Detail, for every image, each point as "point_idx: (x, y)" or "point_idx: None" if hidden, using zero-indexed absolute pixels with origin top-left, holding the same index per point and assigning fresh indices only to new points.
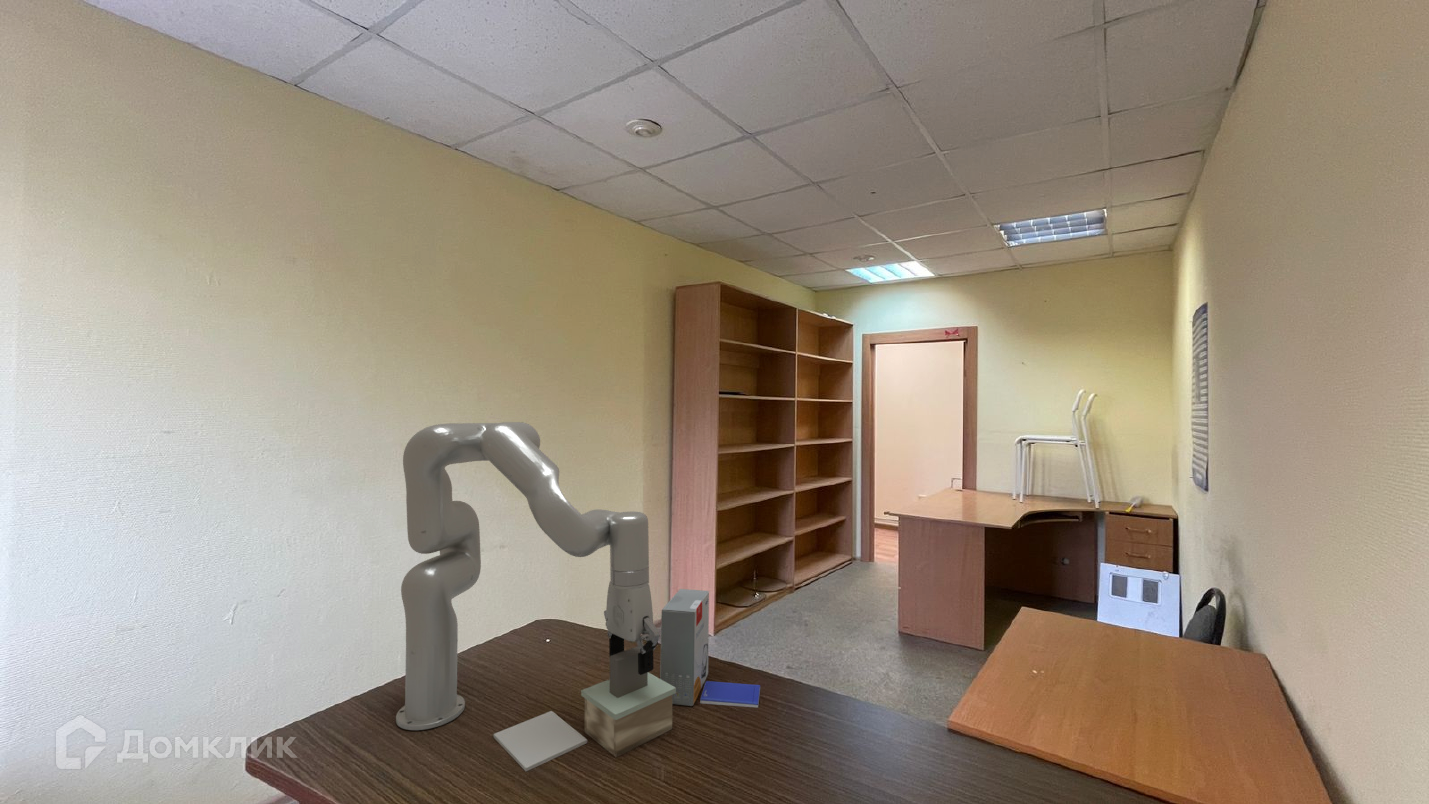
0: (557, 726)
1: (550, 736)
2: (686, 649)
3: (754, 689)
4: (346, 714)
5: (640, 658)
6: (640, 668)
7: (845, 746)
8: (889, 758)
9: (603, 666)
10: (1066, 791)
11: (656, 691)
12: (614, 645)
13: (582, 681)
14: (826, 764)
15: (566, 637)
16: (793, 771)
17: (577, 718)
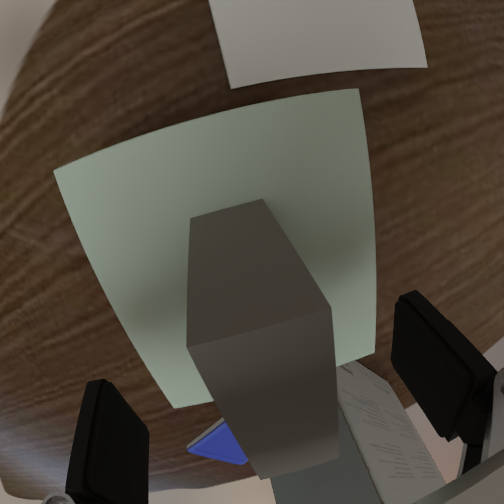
0: (349, 42)
1: (308, 7)
2: (289, 489)
3: (231, 458)
4: None
5: (72, 462)
6: (85, 409)
7: (61, 459)
8: (38, 465)
9: (500, 257)
10: (4, 485)
11: (175, 362)
12: (436, 366)
13: (490, 196)
14: (27, 432)
15: None
16: (14, 404)
17: (370, 112)
